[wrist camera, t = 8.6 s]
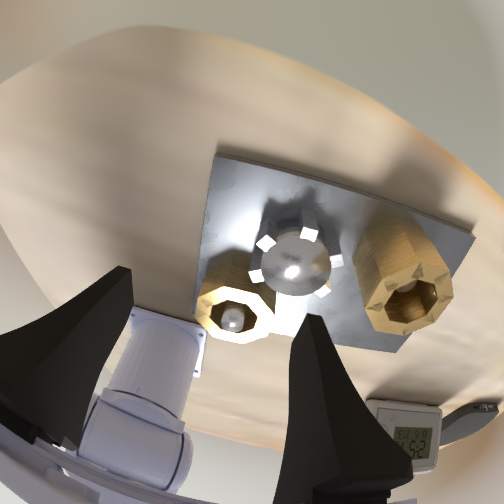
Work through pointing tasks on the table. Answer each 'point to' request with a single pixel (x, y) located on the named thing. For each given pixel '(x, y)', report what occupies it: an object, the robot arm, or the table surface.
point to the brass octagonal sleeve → (401, 277)
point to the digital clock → (411, 429)
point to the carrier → (295, 253)
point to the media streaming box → (466, 421)
